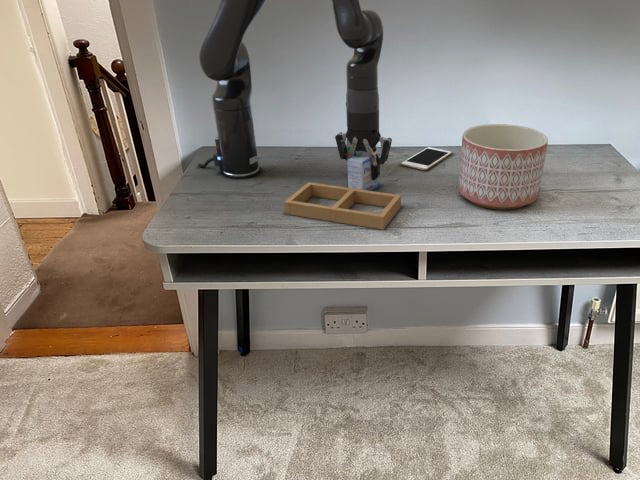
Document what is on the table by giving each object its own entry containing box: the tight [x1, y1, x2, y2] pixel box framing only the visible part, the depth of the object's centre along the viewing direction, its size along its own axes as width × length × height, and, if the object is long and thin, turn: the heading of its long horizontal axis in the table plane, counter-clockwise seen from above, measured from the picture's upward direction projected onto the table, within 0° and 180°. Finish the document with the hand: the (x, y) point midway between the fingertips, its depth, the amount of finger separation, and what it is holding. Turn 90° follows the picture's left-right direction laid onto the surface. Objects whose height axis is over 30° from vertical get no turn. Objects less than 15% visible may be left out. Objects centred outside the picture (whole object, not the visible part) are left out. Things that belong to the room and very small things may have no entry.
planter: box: [458, 123, 549, 210], centre depth 130 cm, size 19×19×15 cm
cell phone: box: [401, 146, 452, 171], centre depth 155 cm, size 8×16×1 cm, turn 148°
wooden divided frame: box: [284, 181, 402, 230], centre depth 126 cm, size 24×12×3 cm, turn 71°
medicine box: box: [346, 152, 381, 191], centre depth 135 cm, size 8×4×9 cm, turn 148°
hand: (364, 177), depth 136 cm, fingers closed on medicine box, 5 cm apart
